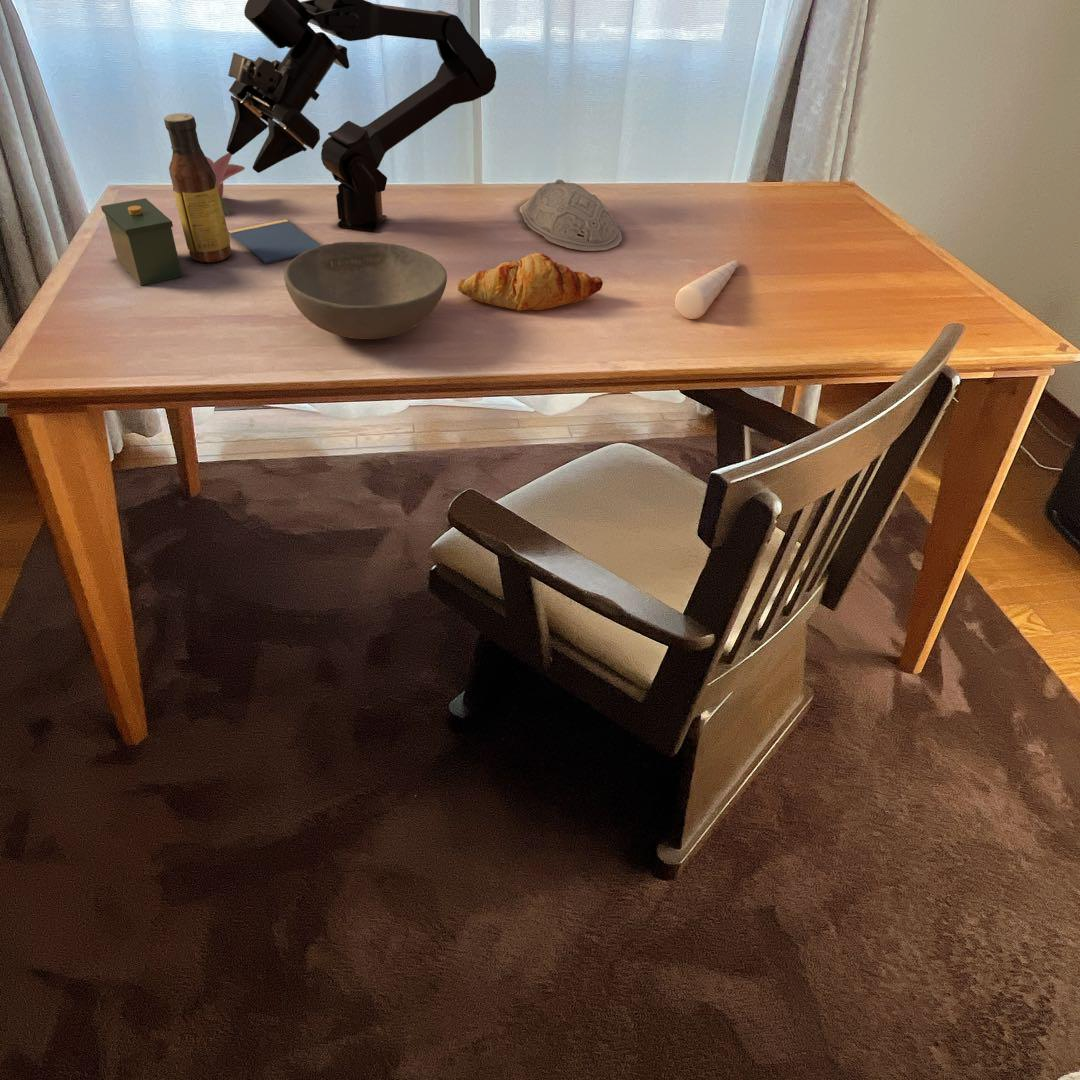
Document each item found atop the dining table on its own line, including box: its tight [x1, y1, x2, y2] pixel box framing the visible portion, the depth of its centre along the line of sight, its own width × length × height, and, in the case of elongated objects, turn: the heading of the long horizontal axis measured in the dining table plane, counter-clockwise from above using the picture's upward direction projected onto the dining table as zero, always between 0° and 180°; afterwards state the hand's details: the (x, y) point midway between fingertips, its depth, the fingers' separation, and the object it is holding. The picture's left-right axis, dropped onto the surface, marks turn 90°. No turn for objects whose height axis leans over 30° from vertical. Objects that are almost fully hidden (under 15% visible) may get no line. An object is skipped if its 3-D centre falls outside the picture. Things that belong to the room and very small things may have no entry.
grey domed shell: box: [519, 178, 623, 252], centre depth 150 cm, size 16×25×7 cm, turn 19°
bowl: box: [283, 241, 448, 340], centre depth 117 cm, size 21×21×8 cm
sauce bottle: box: [163, 112, 232, 263], centre depth 127 cm, size 6×6×20 cm
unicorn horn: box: [674, 259, 740, 320], centre depth 132 cm, size 5×24×5 cm, turn 149°
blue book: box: [228, 218, 321, 265], centre depth 139 cm, size 10×14×1 cm
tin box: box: [100, 198, 183, 286], centre depth 126 cm, size 6×10×9 cm, turn 38°
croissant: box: [456, 252, 604, 311], centre depth 126 cm, size 21×10×8 cm, turn 97°
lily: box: [205, 152, 246, 215], centre depth 146 cm, size 12×12×10 cm
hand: (241, 161), depth 129 cm, fingers open, 9 cm apart
